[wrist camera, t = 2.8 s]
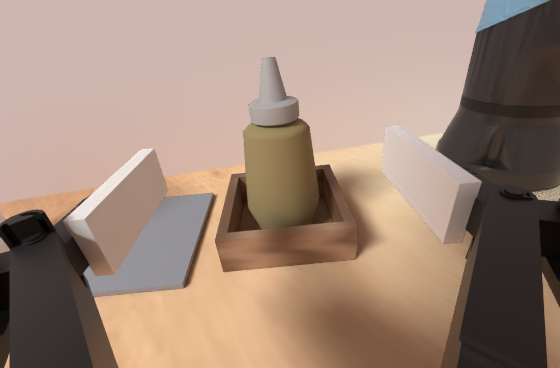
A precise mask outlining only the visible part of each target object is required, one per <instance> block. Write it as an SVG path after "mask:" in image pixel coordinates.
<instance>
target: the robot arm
mask: <svg viewBox="0 0 560 368" xmlns="http://www.w3.org/2000/svg"><path fill="white" fill-rule="evenodd" d="M475 33H477V35H476V39H475V43H474V48H473V52H472V56H471V60H470V64H469V69H468V73H467V77H466V81H465V86H464V90H463V94H462V98H461V102H460V106H459V109H458V111H457V113H456V115H455V116H454V118H453V119H452V121H451V123H450V124H449V126H448V128H447V129H446V131H445V133H444V135H443V136H442V138H441V139H440V140H439V142H438V144H437V147H436V150H435V149H434V148H432V147H431V146H429V145H428V144H426V143H425V142H423V141H422V140H420V139H419V138H418V137H416V136H415V135H413V134H412V133H410V132H409V131H407V130H406V129H404V128H403V127H401V126H400V125H394V126H386V129H385V138H384V146H383V155H382V164H381V171H382V172H383V173H384V174H385V176H386V177H387V178H388V179H389V180H390V182H391V183H392V184H393V185H394V186H395V188H396V189H397V190H398V191H399V192H400V194H401V195H402V196H403V197H404V198H405V199H406V201H407V202H408V203H409V204H410V205H411V207H412V208H413V209H414V210H415V211H416V213H417V214H418V215H419V216H420V217H421V219H422V220H423V221H424V222H425V223H426V225H427V226H428V227H429V228H430V229H431V231H432V232H433V233H434V234H435V235H436V237H437V238H438V239H439V240H440V241H441V243H442V244H448V243H459V242H462V241H463V238H464V235H465V232H466V230H467V231H468V232H469V233H470V234H471V235H472V236H473V238H472V241H471V244H470V247H469V250H468V253H467V255H466V258H465V259H467V261H466V265H465V269H464V273H463V277H462V282H461V286H460V290H459V294H458V298H457V302H456V307H455V311H454V315H453V319H452V323H451V327H450V332H449V336H448V340H447V344H446V348H445V352H444V356H443V361H442V365H441V368H547V354H546V336H545V319H544V301H543V283H542V272H543V274H544V276H545V278H546V280H547V282H548V284H549V286H550V288H551V291H552V293H553V295H554V297H555V299H556V301H557V303H558V305H559V307H560V199H559V201H546V200H538V199H537V197H536V195H534V194H533V193H531V192H530V191H536V190H544V189H549V188H553V187H555V186H558V185H560V0H486V3H485V6H484V9H483V13H482V16H481V19H480V23H479V26H478V28H476V31H475ZM167 191H168V188H167V185H166V182H165V179H164V176H163V173H162V170H161V167H160V164H159V161H158V158H157V155H156V152H155V149H154V148H152V149H142V150H140V151H139V152H138V153H137V154H135V155H134V156H133V157H132V158H131V159H130V160H129V161H128V162H127V163H126V164H124V165H123V166H122V167H121V168H120V169H119V170H118V171H117V172H116V173H115V174H114V175H112V176H111V177H110V178H109V179H108V180H107V181H106V182H105V183H104V184H103V185H101V186H100V187H99V188H98V189H97V190H96V191H95V192H94V193H93V194H92V195H90V196H89V197H87V198H85V199H83V200H82V201H81V202H80V203H79V204H78V205H77V206H76V207H75V208H73V209H72V210H71V211H70V213H68V214H67V215H66V216H65V217H63V218H62V219H61V220H60V221H59V222H58V223H57V224H56V225H55V226H53V225H52V223H51V222H50V220H49V218H48V217H47V215H46V214H45V212H44V211H43V210H30V211H26V212H23V213H20V214H17V215H15V216H12V217H10V218H9V219H7V220H5V221H3V222H2V223H1V224H0V237H1V239H2V240H3V241H4V243H5V244H6V245H7V246H8V248H9V249H10V251H7V252H3V253H0V368H4V367H5V364H6V361H7V358H8V355H9V352H10V368H118V365H117V363H116V360H115V357H114V354H113V351H112V348H111V345H110V343H109V340H108V337H107V334H106V331H105V328H104V326H103V323H102V320H101V317H100V314H99V311H98V309H97V306H96V303H95V300H94V297H93V294H92V292H91V289H90V286H89V283H88V280H87V278H86V277H85V275H84V274H83V273H84V272H85V270H86V269H87V268H88V266H90V268H91V269H92V271H93V273H94V274H95V276H104V275H115V273H116V272H117V270H118V269H119V267H120V266H121V264H122V262H123V261H124V259H125V258H126V256H127V254H128V253H129V251H130V250H131V248H132V247H133V245H134V243H135V242H136V240H137V239H138V237H139V236H140V234H141V232H142V231H143V229H144V228H145V226H146V224H147V223H148V221H149V220H150V218H151V217H152V215H153V213H154V212H155V210H156V209H157V207H158V206H159V204H160V202H161V201H162V199H163V198H164V196H165V194H166V193H167Z"/></svg>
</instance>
